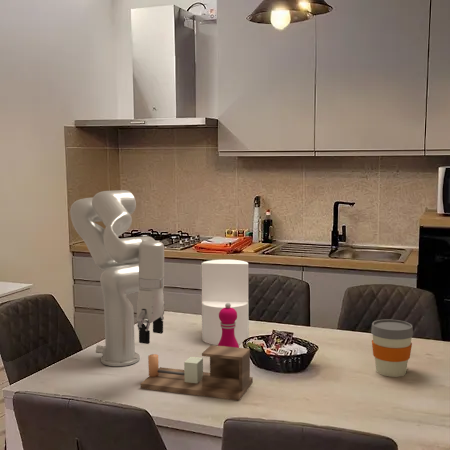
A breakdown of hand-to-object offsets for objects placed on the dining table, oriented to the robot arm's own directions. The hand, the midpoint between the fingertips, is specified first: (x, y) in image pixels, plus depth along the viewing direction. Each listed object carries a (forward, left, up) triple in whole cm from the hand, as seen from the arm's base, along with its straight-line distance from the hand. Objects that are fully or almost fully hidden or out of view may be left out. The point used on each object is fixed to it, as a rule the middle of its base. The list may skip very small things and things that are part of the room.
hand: (151, 337), depth 182 cm
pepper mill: (+18, +20, -13) cm, 30 cm away
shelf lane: (+15, -1, -13) cm, 20 cm away
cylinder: (+9, +45, -13) cm, 48 cm away
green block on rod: (+8, -1, -11) cm, 14 cm away
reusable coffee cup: (+69, +27, -13) cm, 75 cm away
